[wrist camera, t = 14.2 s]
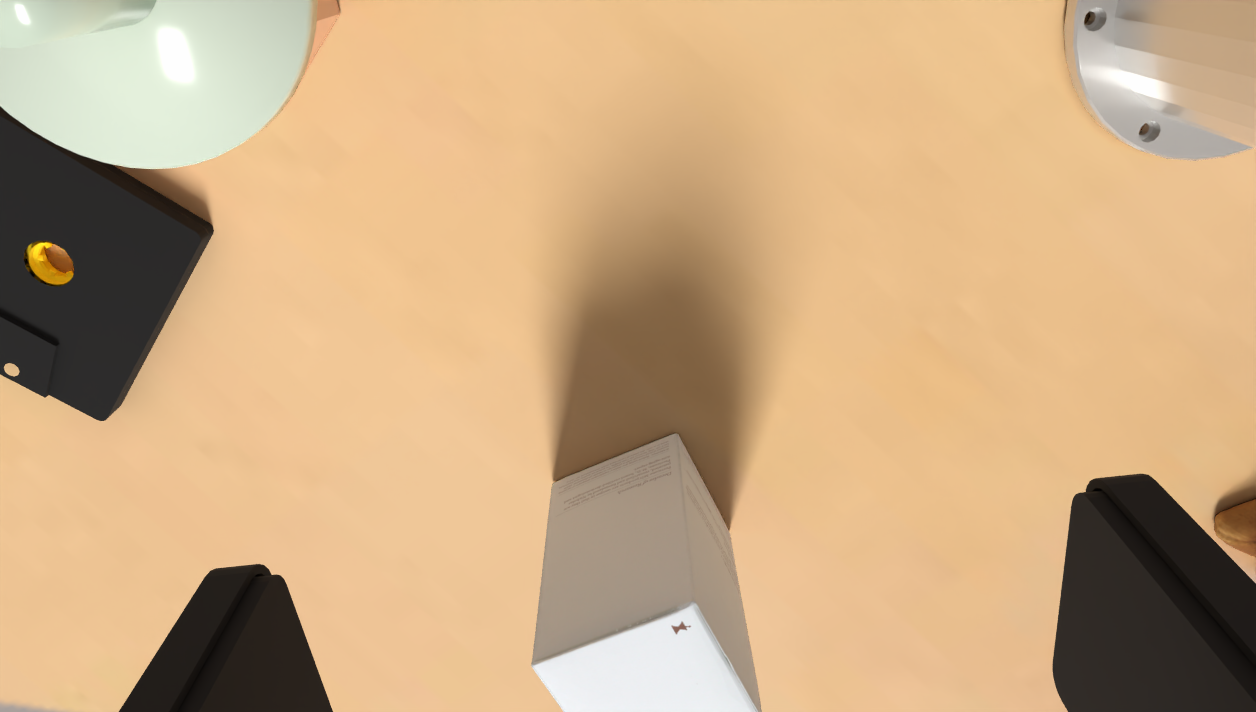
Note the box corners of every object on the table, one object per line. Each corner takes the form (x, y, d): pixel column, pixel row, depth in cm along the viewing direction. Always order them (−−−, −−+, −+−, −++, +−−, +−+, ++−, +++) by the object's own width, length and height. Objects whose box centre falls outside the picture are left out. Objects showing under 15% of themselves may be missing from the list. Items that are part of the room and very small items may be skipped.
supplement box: (547, 480, 46) (523, 663, 34) (679, 428, 45) (699, 600, 33) (608, 582, 49) (605, 781, 37) (733, 536, 47) (769, 728, 36)
